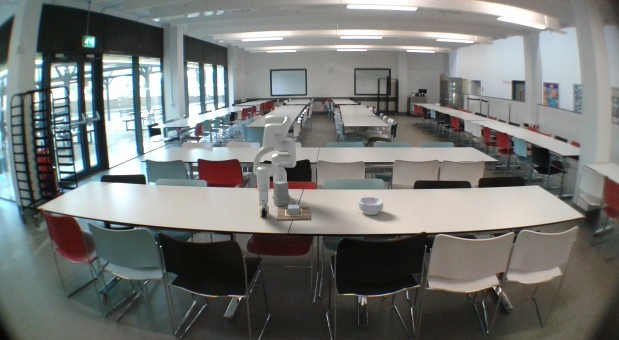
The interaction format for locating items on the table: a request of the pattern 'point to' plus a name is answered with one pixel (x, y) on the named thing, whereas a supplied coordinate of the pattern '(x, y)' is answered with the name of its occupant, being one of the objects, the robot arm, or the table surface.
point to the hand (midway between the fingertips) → (264, 214)
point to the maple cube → (266, 209)
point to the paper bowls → (370, 205)
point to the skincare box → (281, 193)
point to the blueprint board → (282, 212)
